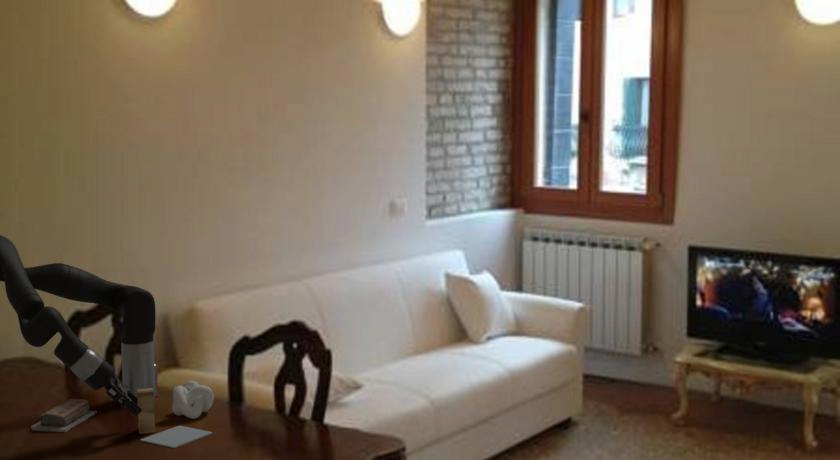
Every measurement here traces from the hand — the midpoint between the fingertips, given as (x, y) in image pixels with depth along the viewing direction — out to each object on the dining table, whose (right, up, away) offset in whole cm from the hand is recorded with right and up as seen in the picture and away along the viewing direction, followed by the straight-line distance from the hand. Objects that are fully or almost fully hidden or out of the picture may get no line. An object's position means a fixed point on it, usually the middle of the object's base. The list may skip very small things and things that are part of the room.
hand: (138, 408), depth 268 cm
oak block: (+2, -6, +2) cm, 7 cm away
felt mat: (+11, -7, -4) cm, 14 cm away
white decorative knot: (+10, -5, +17) cm, 20 cm away
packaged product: (-23, -6, +11) cm, 26 cm away
